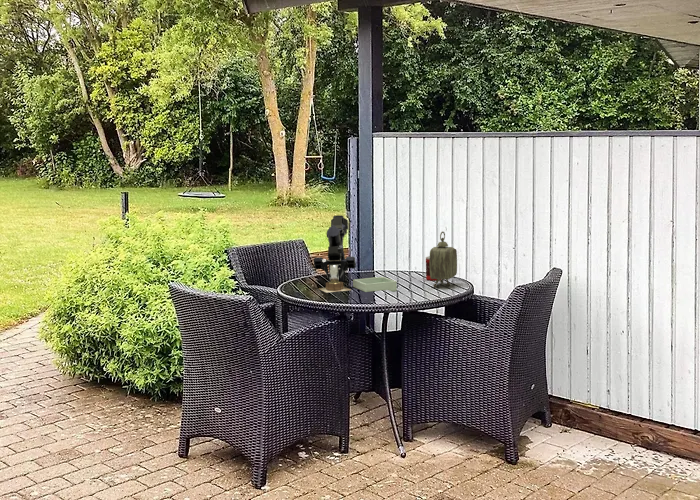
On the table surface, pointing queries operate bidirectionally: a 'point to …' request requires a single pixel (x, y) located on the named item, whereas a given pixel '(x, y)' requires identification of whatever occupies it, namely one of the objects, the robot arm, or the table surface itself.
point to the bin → (375, 284)
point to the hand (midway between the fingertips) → (334, 277)
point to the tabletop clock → (443, 262)
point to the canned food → (428, 269)
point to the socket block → (334, 287)
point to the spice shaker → (334, 274)
